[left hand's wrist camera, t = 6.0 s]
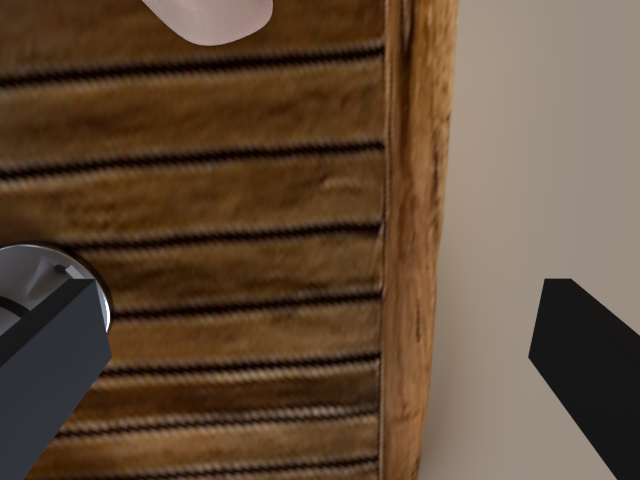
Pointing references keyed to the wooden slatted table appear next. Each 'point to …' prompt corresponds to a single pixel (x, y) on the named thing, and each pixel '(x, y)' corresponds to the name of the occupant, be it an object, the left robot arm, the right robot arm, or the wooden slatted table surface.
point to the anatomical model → (212, 18)
